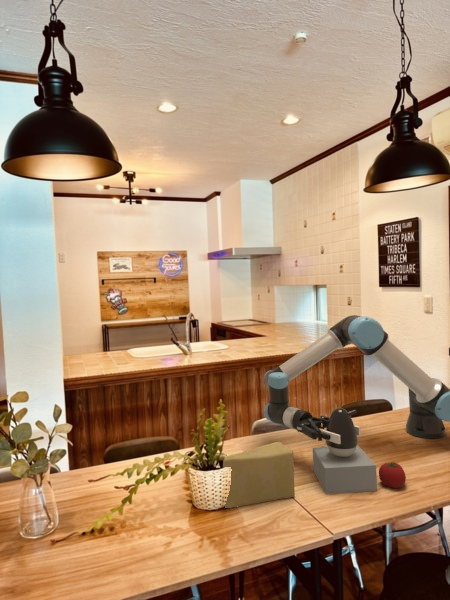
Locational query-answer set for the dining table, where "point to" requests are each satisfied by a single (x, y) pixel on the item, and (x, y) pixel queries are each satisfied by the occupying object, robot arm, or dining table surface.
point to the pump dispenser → (342, 432)
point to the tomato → (392, 475)
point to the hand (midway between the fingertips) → (349, 435)
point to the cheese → (260, 475)
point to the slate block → (344, 471)
